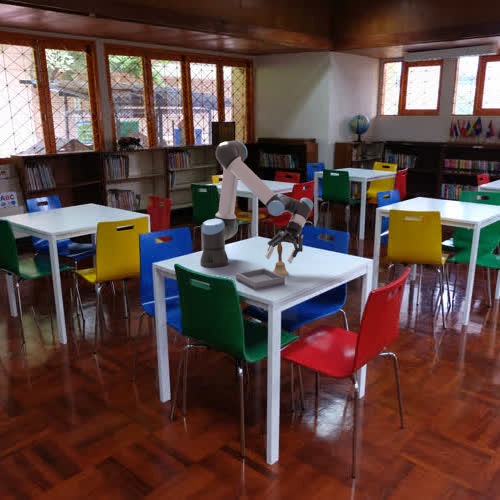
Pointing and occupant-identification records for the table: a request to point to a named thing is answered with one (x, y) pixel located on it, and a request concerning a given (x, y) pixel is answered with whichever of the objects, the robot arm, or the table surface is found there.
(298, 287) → the table surface
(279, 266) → the hand bell
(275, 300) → the table surface
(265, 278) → the tray
